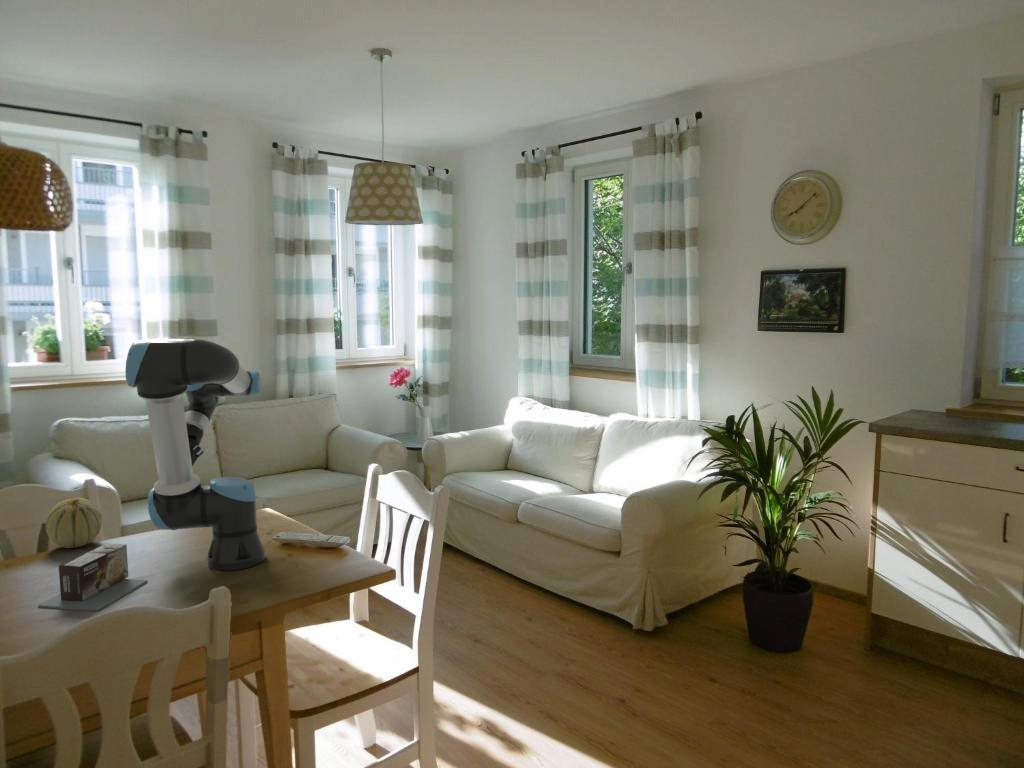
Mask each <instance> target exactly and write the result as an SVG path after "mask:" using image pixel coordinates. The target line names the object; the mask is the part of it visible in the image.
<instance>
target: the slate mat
mask: <svg viewBox="0 0 1024 768" xmlns="http://www.w3.org/2000/svg"><path fill="white" fill-rule="evenodd" d="M146 583H148V579H133V578H129V579H128V578H125V579H123V580H121V581H120V582H118V583H116V584H114V585H112V586H110V587H108V588H106V589H105V590H103V591H101V592H99V593H97V594H95V595H93V596H91V597H90V598H88V599H86V600H84V601H66V600H61V593H58V594H56V595H55V596H52V597H51V598H49V599H47V600H45V601H43V602H42V603H39V604H38V605H37V607H38V608H42V609H43V608H44V609H58V610H60V609H61V610H72V611H74V610H75V611H87V612H88V611H89V612H99V611H101V610H102V609H104V608H106V607H108V606H109V605H111V604H113V603H114V602H116V601H118V600H120V599H121V598H124V597H125V596H127V595H128V594H130V593H131V592H133V591H135V590H136V589H138V588H140V587H141V586H143V585H145V584H146Z"/></svg>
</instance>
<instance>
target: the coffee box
mask: <svg viewBox="0 0 1024 768" xmlns="http://www.w3.org/2000/svg"><path fill="white" fill-rule="evenodd" d="M127 547H128V546H127V544H126V543H112V542H111V543H106V544H103V545H101V546H98V547H97V548H94V549H91V550H90V551H88V552H85V553H83V554H81V555H79V556H77V557H75V558H72V559H70V560H67V561H65V562H63V563H61V564H59V565H58V575H59V577H58V578H59V587H60V588H59V590H60V591H59V592H60V594H61V600H66V601H84V600H86V599H88V598H90V597H91V596H93V595H95V594H97V593H99V592H101V591H103V590H105V589H106V588H108V587H110V586H112V585H114V584H116V583H118V582H120V581H121V580H123V579H128V577H129V565H128V564H129V563H128V562H129V561H128V560H129V559H128V548H127Z"/></svg>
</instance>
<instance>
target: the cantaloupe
mask: <svg viewBox="0 0 1024 768" xmlns="http://www.w3.org/2000/svg"><path fill="white" fill-rule="evenodd" d="M102 526H103V518H102V513H101V511H100V509H99V507H98V506H97V505H96V503H94V502H93V501H91V500H89V499H86V498H84V497H73V498H72V497H71V498H67V499H64V500H61V501H60V502H58V503H56V504H55V505H54V506H53V507H52V508H51V509H50V511H49V512H48V514H47V517H46V519H45V531H46V534H47V536H48V538H49V539H50V540H51V542H53V544H54V545H57V546H59V547H62V548H68V549H69V548H70V549H73V548H79V547H83V546H85V545H88V544H90V543H92V541H93V540H95V539H96V537H97V536H98V535H99V533H100V531H101V529H102Z"/></svg>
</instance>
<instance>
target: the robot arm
mask: <svg viewBox="0 0 1024 768" xmlns="http://www.w3.org/2000/svg"><path fill="white" fill-rule="evenodd" d="M126 355H127V356H126V361H125V381H126V383H127V386H128V387H130V388H136V391H137V395H138V397H140V398H141V399H143V400H144V401H145V404H146V410H147V417H148V422H149V424H148V425H149V429H150V436H151V441H152V448H153V453H154V454H153V455H154V459H155V465H156V471H157V477H158V479H157V480H156V481H155V482H154V483H153V488H151V489H150V491H149V492H148V495H147V504H148V506H147V508H148V509H147V510H148V515H149V517H150V520H151V522H152V524H153V526H154V527H155V528H157V529H158V530H162V531H163V530H165V531H166V530H170V531H177V530H186V529H187V530H188V529H200V528H202V529H203V528H212V538H211V542H210V547H209V550H208V554H207V557H206V560H207V567H209V569H211V570H215V571H216V570H217V571H225V572H226V571H237V570H243V569H244V570H245V569H249V568H251V567H252V568H253V567H254V566H257V565H259V564H261V563H263V562H264V560H265V559H266V550H265V547H264V545H263V543H262V540H261V538H260V535H259V533H258V522H257V521H258V520H257V503H256V502H257V501H256V500H257V496H256V489H255V485H254V483H253V482H252V481H251V480H248V479H246V478H243V477H236V476H222V477H216V478H213V479H211V480H210V481H209V483H208V484H201V483H202V482H201V479H200V476H199V475H197V474H195V473H194V469H193V466H194V464H195V462H197V460H198V459H199V457H200V456H202V455H203V454H204V452H205V451H204V450H203V449H202V447H201V446H199V445H200V444H201V441H202V439H203V438H204V437H203V436H204V433H205V432H206V430H207V428H208V425H209V423H210V421H211V419H212V416H213V414H214V412H215V410H216V408H217V406H218V404H219V401H220V398H221V397H242V396H243V397H250V396H259V395H260V393H261V388H262V380H261V379H262V378H261V374H260V372H258V371H257V370H255V371H254V370H248V371H247V370H245V369H244V368H243V367H242V366H241V365H240V362H239V359H238V358H237V356H236V354H235V353H234V352H232V351H231V350H230V349H228V348H227V347H225V346H223V345H221V344H218V343H216V342H212V341H209V340H205V339H201V338H200V339H199V338H189V339H188V338H186V339H185V338H183V339H154V338H150V339H145V340H136V341H135V342H132V344H131V345H130V347H129V349H128V352H127V354H126ZM184 394H185V395H186V398H187V402H188V405H187V408H186V410H185V406H184V399H183V398H184V397H183V395H184Z"/></svg>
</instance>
